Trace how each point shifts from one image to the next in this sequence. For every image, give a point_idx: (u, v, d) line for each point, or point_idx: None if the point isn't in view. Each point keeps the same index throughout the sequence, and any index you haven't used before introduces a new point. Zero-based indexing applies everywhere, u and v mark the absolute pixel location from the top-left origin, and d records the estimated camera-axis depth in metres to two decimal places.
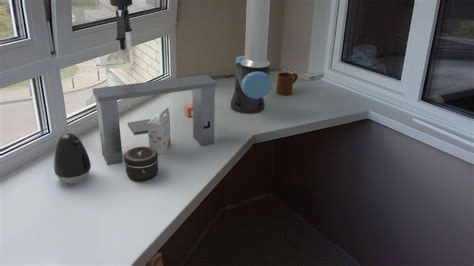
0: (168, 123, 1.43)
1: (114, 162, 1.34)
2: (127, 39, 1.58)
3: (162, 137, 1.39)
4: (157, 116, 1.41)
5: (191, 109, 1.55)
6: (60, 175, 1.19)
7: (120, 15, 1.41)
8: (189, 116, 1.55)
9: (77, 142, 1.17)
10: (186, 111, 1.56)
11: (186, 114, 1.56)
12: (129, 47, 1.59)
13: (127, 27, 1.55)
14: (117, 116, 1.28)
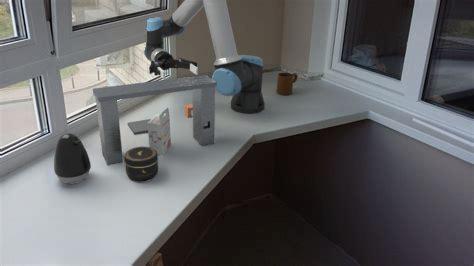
0: (168, 123, 1.43)
1: (114, 162, 1.34)
2: (192, 68, 1.65)
3: (162, 137, 1.39)
4: (157, 116, 1.41)
5: (191, 109, 1.55)
6: (60, 175, 1.19)
7: None
8: (189, 116, 1.55)
9: (77, 142, 1.17)
10: (186, 111, 1.56)
11: (186, 114, 1.56)
12: (195, 69, 1.63)
13: (186, 64, 1.68)
14: (117, 116, 1.28)
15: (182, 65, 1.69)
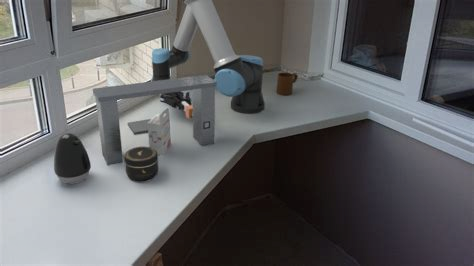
0: (168, 123, 1.43)
1: (114, 162, 1.34)
2: None
3: (162, 137, 1.39)
4: (157, 116, 1.41)
5: (192, 110, 1.54)
6: (60, 175, 1.19)
7: (162, 99, 1.67)
8: (190, 117, 1.55)
9: (77, 142, 1.17)
10: (187, 112, 1.55)
11: (187, 115, 1.55)
12: None
13: (182, 100, 1.65)
14: (117, 116, 1.28)
15: (180, 100, 1.67)
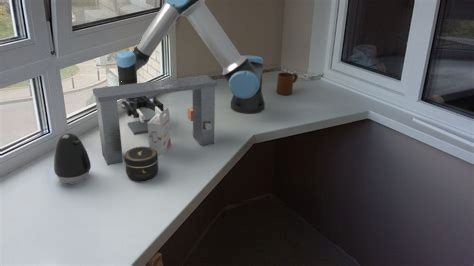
0: (168, 123, 1.43)
1: (114, 162, 1.34)
2: (157, 112, 1.52)
3: (162, 137, 1.39)
4: (157, 116, 1.41)
5: None
6: (60, 175, 1.19)
7: (123, 105, 1.57)
8: (192, 119, 1.53)
9: (77, 142, 1.17)
10: (189, 114, 1.53)
11: (189, 117, 1.54)
12: (159, 113, 1.49)
13: (153, 106, 1.56)
14: (117, 116, 1.28)
15: (150, 106, 1.57)
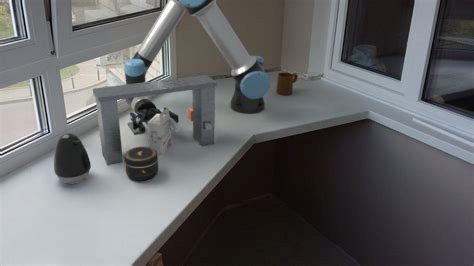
0: (168, 123, 1.43)
1: (114, 162, 1.34)
2: (172, 123, 1.42)
3: (162, 137, 1.39)
4: (157, 116, 1.41)
5: None
6: (60, 175, 1.19)
7: (131, 117, 1.47)
8: (192, 119, 1.53)
9: (77, 142, 1.17)
10: (189, 114, 1.53)
11: (189, 117, 1.54)
12: (175, 126, 1.40)
13: None
14: (117, 116, 1.28)
15: None
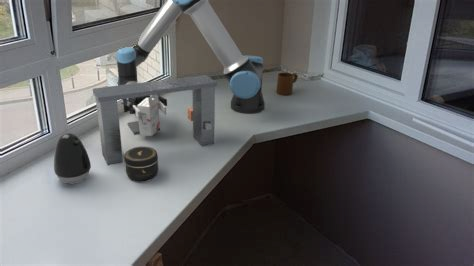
0: (157, 106, 1.51)
1: (114, 162, 1.34)
2: (160, 107, 1.51)
3: (151, 119, 1.47)
4: (146, 99, 1.50)
5: None
6: (60, 175, 1.19)
7: (122, 101, 1.55)
8: (192, 119, 1.53)
9: (77, 142, 1.17)
10: (189, 114, 1.53)
11: (189, 117, 1.54)
12: (163, 108, 1.48)
13: None
14: (117, 116, 1.28)
15: None
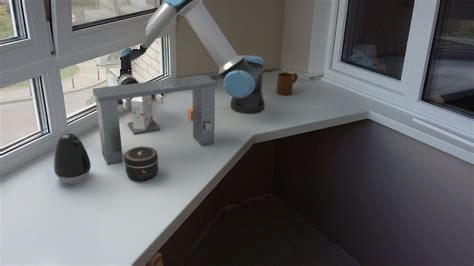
0: (150, 101, 1.59)
1: (114, 162, 1.34)
2: (157, 96, 1.59)
3: (144, 113, 1.54)
4: None
5: None
6: (60, 175, 1.19)
7: None
8: (192, 119, 1.53)
9: (77, 142, 1.17)
10: (189, 114, 1.53)
11: (189, 117, 1.54)
12: (160, 98, 1.56)
13: None
14: (117, 116, 1.28)
15: None
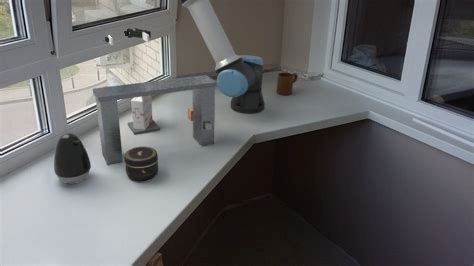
0: (150, 101, 1.59)
1: (114, 162, 1.34)
2: (144, 36, 1.61)
3: (144, 113, 1.54)
4: None
5: None
6: (60, 175, 1.19)
7: None
8: (192, 119, 1.53)
9: (77, 142, 1.17)
10: (189, 114, 1.53)
11: (189, 117, 1.54)
12: (146, 36, 1.58)
13: (139, 33, 1.64)
14: (117, 116, 1.28)
15: (136, 34, 1.65)
